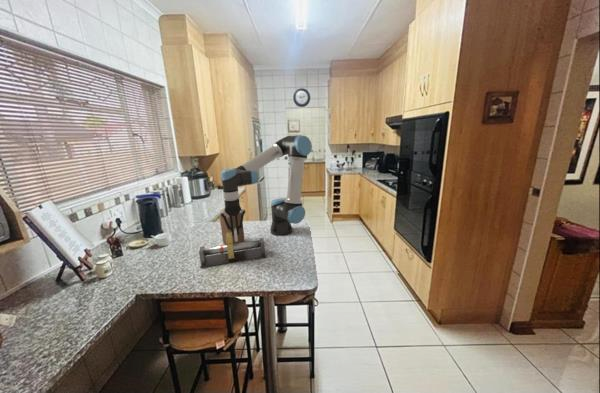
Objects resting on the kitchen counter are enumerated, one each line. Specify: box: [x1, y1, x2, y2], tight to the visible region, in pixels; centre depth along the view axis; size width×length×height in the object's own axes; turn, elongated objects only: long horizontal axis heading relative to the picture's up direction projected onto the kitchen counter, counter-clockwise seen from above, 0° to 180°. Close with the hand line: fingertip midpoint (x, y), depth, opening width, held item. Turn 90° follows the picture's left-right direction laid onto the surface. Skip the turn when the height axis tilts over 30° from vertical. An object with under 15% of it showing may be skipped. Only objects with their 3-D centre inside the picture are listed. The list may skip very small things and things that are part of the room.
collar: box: [226, 232, 235, 259], centre depth 135 cm, size 3×8×12 cm, turn 15°
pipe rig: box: [198, 237, 267, 269], centre depth 136 cm, size 34×12×8 cm, turn 105°
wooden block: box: [219, 211, 245, 245], centre depth 154 cm, size 10×10×20 cm
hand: (236, 240), depth 135 cm, fingers closed
